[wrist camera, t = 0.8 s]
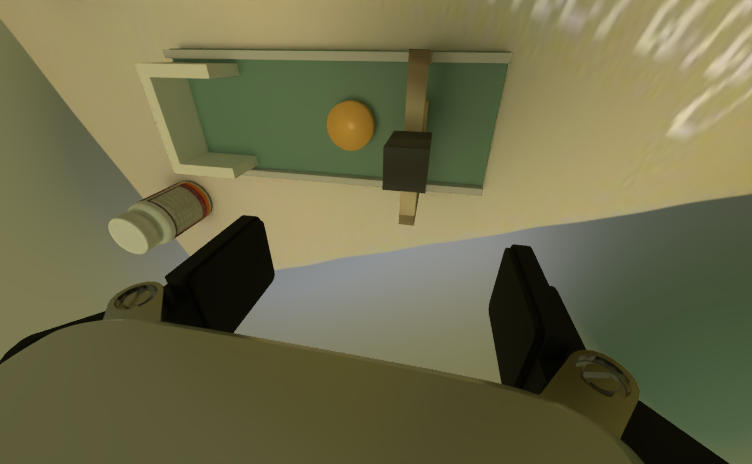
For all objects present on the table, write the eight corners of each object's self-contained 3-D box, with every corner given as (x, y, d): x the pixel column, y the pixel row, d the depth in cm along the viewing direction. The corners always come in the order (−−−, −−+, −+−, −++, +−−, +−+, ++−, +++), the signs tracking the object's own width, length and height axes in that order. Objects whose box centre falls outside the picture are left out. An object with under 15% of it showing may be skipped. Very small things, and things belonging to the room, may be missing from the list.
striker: (409, 50, 28) (385, 47, 16) (441, 51, 27) (440, 48, 16) (401, 188, 35) (381, 252, 23) (426, 190, 34) (418, 257, 23)
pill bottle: (183, 214, 47) (116, 254, 37) (170, 177, 44) (94, 211, 34) (217, 218, 46) (158, 261, 36) (207, 182, 43) (139, 218, 33)
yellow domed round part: (330, 99, 32) (324, 101, 30) (375, 99, 31) (371, 102, 29) (334, 145, 34) (328, 149, 33) (376, 147, 34) (372, 151, 32)
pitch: (179, 48, 34) (128, 47, 28) (507, 51, 28) (523, 51, 22) (213, 166, 41) (178, 183, 36) (479, 188, 35) (485, 212, 30)
